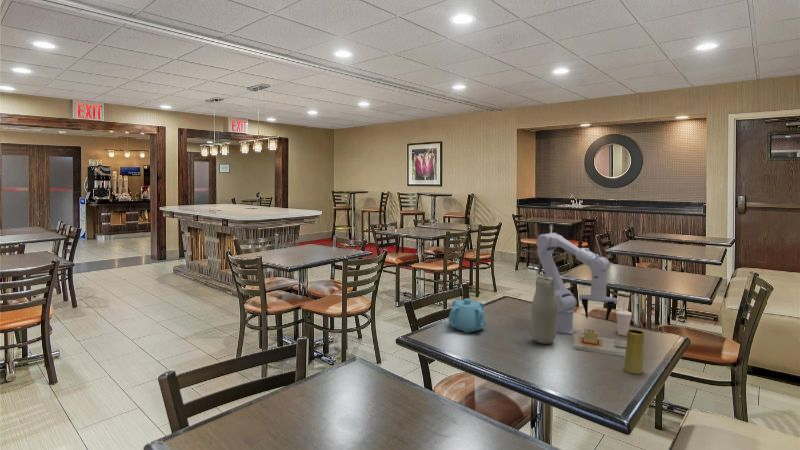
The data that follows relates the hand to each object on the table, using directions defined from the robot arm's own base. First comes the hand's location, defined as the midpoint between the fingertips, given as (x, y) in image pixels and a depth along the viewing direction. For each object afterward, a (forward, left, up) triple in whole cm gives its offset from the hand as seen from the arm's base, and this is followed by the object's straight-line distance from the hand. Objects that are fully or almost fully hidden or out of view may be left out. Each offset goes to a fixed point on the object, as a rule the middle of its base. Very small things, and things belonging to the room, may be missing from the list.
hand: (596, 318), depth 187 cm
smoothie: (+11, +13, -10) cm, 20 cm away
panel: (+4, -7, -9) cm, 12 cm away
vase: (+12, -27, -10) cm, 31 cm away
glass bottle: (-20, -12, -10) cm, 25 cm away
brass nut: (-2, -7, -10) cm, 12 cm away
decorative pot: (-53, -8, -10) cm, 54 cm away
